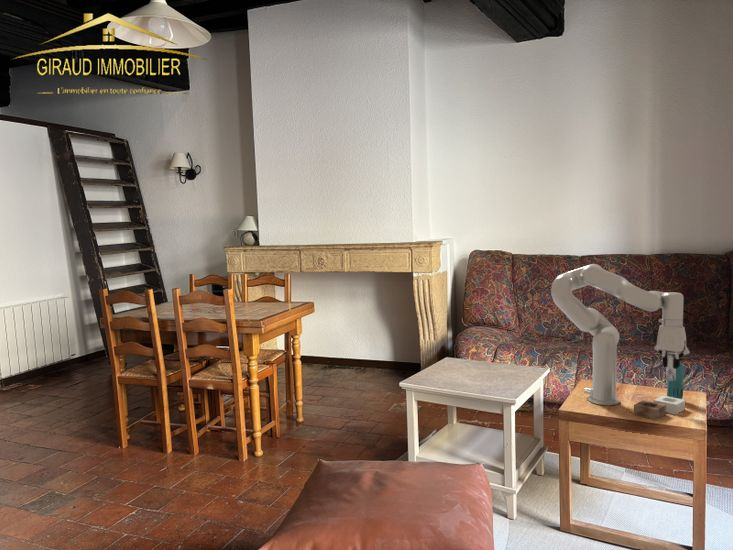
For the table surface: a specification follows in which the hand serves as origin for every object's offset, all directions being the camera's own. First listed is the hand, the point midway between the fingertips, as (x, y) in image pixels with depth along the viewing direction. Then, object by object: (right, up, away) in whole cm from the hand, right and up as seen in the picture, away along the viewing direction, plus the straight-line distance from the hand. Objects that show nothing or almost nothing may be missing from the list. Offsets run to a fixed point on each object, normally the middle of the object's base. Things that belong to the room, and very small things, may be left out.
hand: (671, 366), depth 250 cm
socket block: (-11, -19, -4) cm, 22 cm away
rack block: (0, -18, +2) cm, 18 cm away
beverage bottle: (+8, -17, +14) cm, 23 cm away
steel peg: (0, -5, +1) cm, 5 cm away
